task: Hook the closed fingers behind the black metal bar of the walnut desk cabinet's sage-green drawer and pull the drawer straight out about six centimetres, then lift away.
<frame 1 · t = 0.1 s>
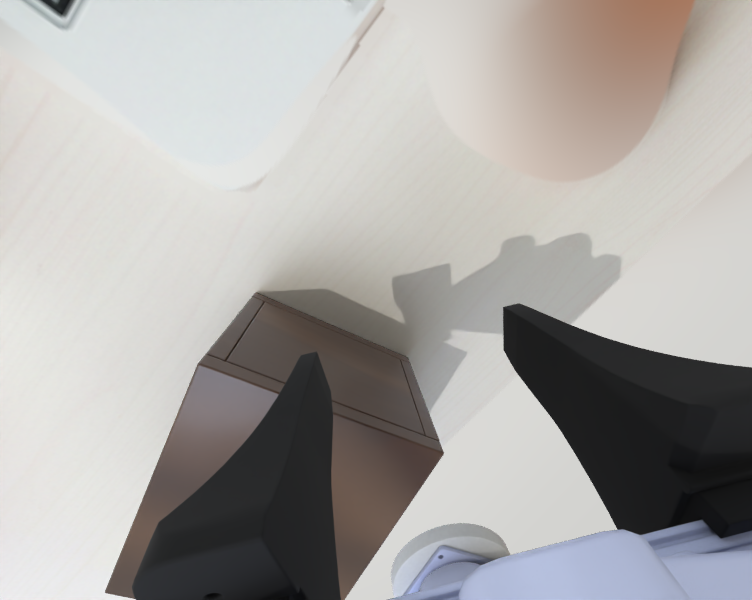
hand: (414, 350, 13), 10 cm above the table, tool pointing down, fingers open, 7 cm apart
cabinet: (295, 405, 24), on the table
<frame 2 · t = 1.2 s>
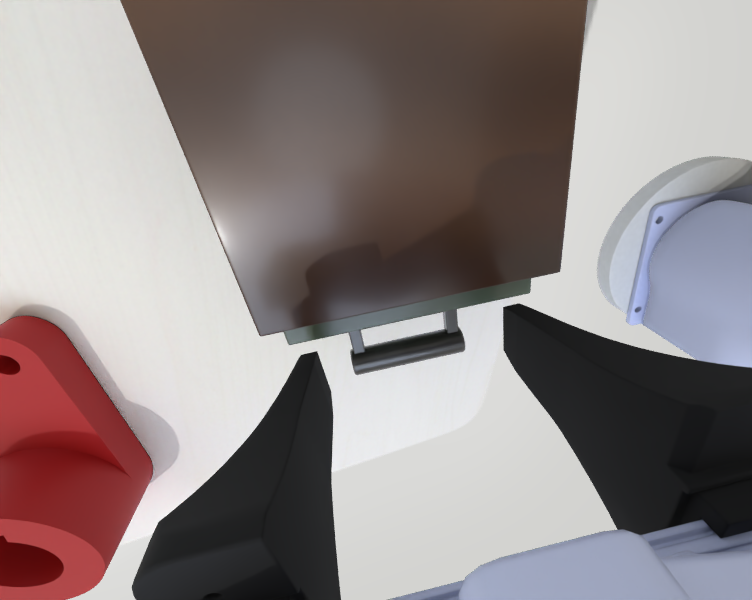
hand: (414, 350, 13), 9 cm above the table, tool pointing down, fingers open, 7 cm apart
drawer: (382, 203, 15), point 5 cm above the table, slide at 0.0 cm
cabinet: (356, 101, 17), on the table
lever: (70, 423, 24), on the table
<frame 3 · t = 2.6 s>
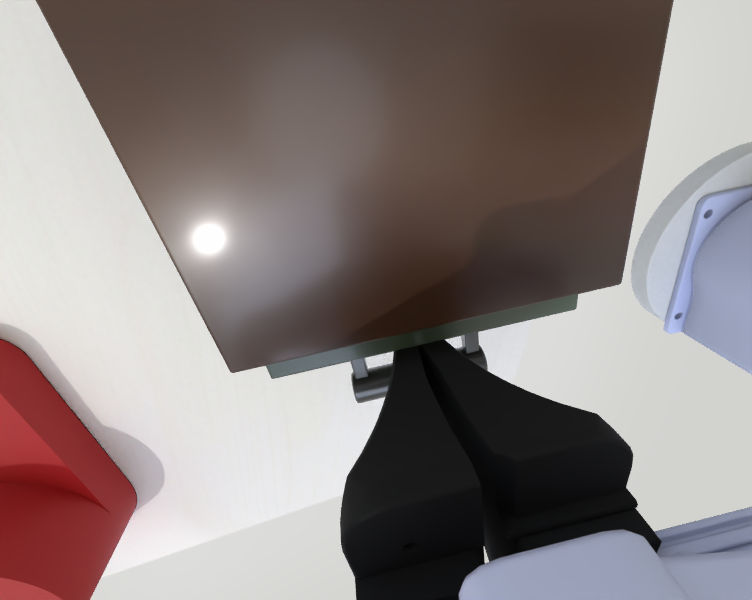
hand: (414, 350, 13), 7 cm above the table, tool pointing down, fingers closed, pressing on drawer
drawer: (387, 198, 12), point 5 cm above the table, slide at 0.0 cm, touching cabinet, gripper
cabinet: (354, 77, 14), on the table
lever: (42, 451, 22), on the table
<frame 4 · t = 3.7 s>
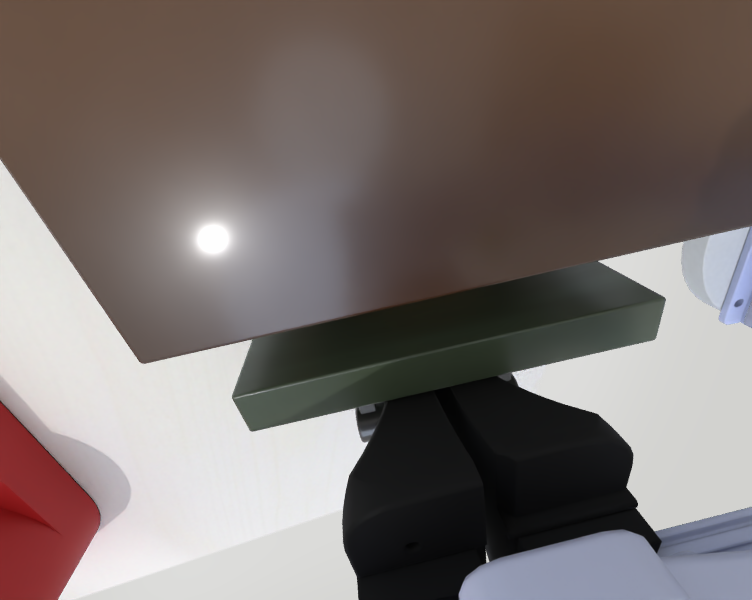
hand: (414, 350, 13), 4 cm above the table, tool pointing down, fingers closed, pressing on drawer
drawer: (401, 193, 9), point 5 cm above the table, slide at 1.8 cm, touching gripper
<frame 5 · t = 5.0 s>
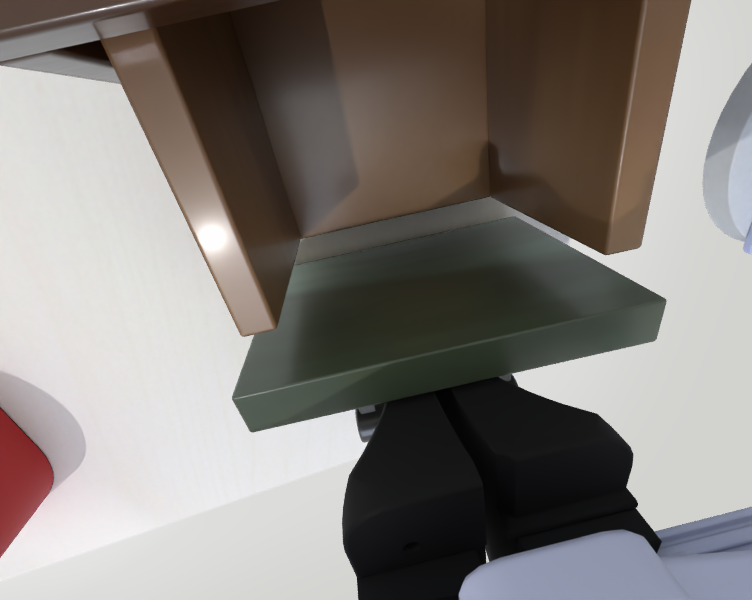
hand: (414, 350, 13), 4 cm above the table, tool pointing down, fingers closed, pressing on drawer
drawer: (402, 193, 9), point 5 cm above the table, slide at 6.3 cm, touching gripper
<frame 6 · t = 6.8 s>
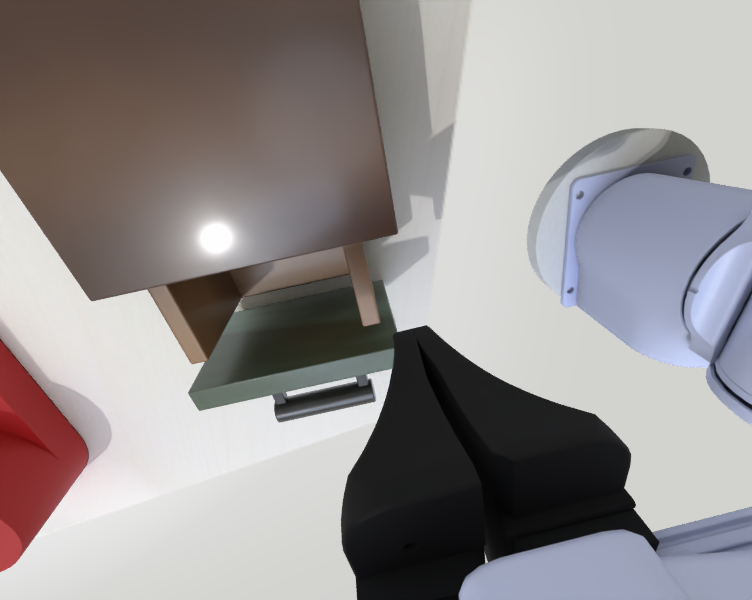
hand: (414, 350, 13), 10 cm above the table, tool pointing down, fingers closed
drawer: (286, 283, 17), point 5 cm above the table, slide at 5.5 cm
cabinet: (236, 73, 17), on the table
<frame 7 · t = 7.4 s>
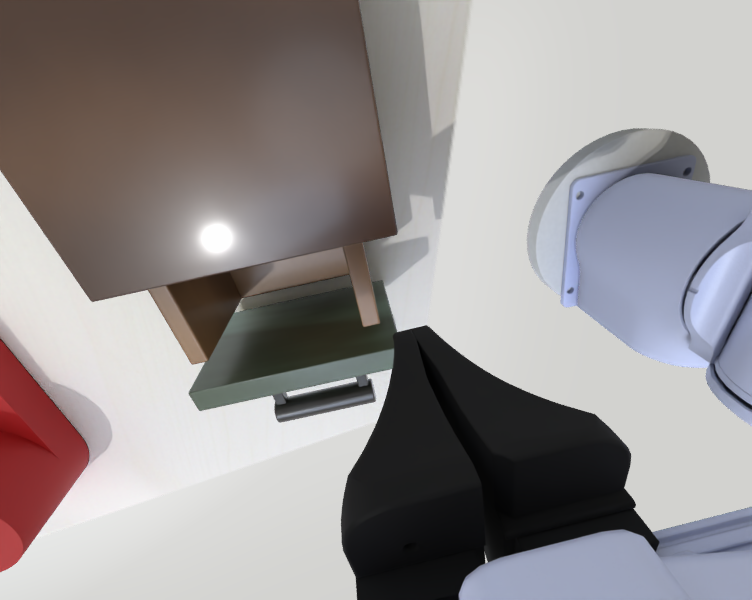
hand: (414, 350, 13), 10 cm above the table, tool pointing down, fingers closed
drawer: (286, 283, 17), point 5 cm above the table, slide at 5.5 cm
cabinet: (236, 73, 17), on the table
lever: (0, 404, 25), on the table
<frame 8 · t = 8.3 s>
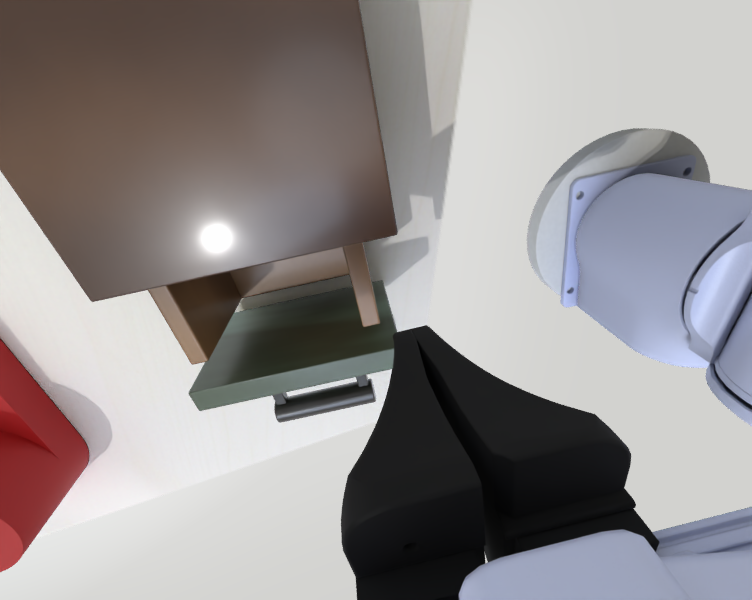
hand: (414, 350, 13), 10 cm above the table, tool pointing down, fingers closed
drawer: (286, 283, 17), point 5 cm above the table, slide at 5.5 cm
cabinet: (236, 73, 17), on the table
lever: (0, 404, 25), on the table
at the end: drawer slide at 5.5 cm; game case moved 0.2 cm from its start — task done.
